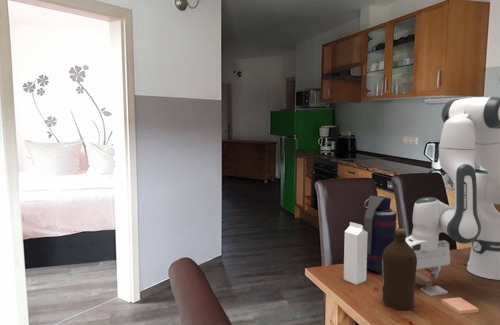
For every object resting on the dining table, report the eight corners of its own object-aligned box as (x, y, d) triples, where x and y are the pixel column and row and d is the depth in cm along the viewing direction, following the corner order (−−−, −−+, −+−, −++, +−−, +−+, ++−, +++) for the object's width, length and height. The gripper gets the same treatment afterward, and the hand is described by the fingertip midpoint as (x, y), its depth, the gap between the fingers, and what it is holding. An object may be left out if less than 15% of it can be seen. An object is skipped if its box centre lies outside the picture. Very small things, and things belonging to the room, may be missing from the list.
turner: (418, 276, 146) (419, 269, 146) (447, 293, 132) (448, 285, 131) (402, 278, 144) (403, 271, 144) (430, 296, 130) (430, 287, 130)
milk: (353, 275, 147) (354, 220, 145) (366, 280, 142) (368, 223, 140) (343, 279, 144) (344, 223, 141) (356, 285, 139) (357, 226, 137)
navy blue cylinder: (376, 261, 162) (378, 192, 159) (400, 270, 152) (403, 197, 149) (354, 268, 154) (355, 196, 151) (378, 278, 144) (380, 201, 141)
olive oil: (419, 302, 125) (422, 228, 123) (408, 314, 117) (411, 236, 115) (387, 292, 132) (390, 223, 130) (375, 304, 124) (377, 230, 122)
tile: (459, 297, 126) (478, 308, 119) (459, 301, 126) (478, 313, 119) (441, 299, 125) (459, 310, 117) (441, 303, 125) (459, 315, 117)
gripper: (442, 237, 142) (441, 272, 144) (395, 241, 138) (393, 278, 139) (455, 242, 136) (453, 279, 138) (406, 247, 131) (404, 285, 133)
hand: (423, 278), depth 138 cm, fingers open, 8 cm apart
